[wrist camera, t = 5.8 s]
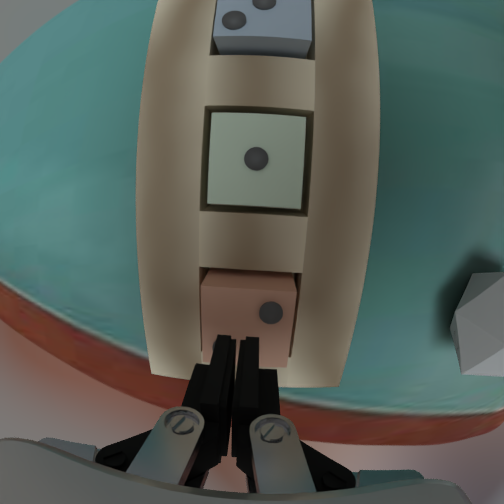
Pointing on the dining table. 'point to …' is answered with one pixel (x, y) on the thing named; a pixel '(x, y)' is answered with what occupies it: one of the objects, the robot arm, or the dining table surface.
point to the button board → (257, 217)
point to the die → (480, 326)
